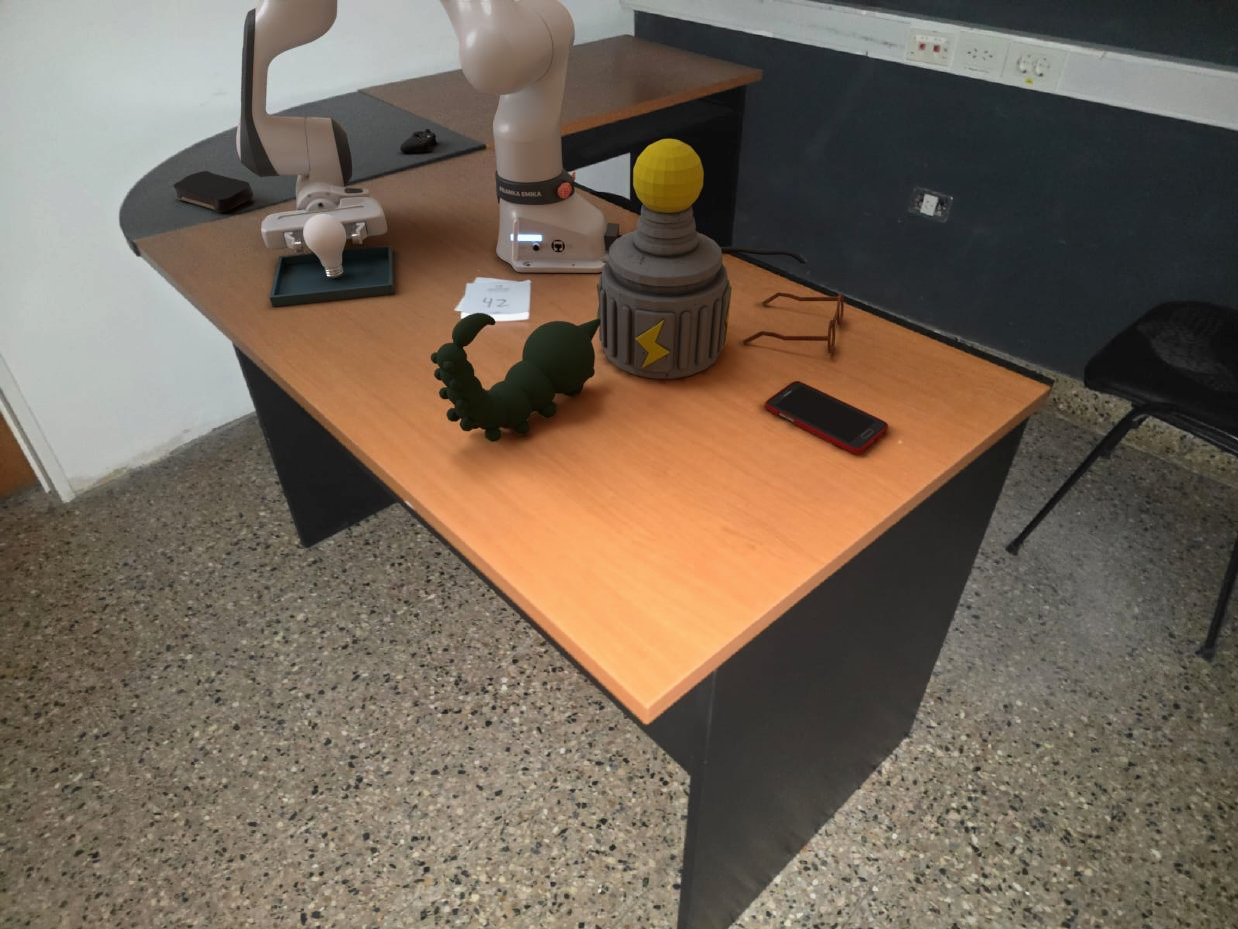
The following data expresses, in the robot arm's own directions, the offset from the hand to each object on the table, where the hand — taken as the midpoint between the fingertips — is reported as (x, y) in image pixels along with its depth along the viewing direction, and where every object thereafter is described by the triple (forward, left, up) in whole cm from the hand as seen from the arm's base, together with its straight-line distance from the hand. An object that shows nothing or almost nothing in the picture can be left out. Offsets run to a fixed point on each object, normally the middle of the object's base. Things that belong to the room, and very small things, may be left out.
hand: (327, 244), depth 130 cm
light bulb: (0, 0, -7) cm, 7 cm away
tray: (0, 0, -7) cm, 7 cm away
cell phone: (-82, +23, -7) cm, 85 cm away
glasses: (-77, +1, -7) cm, 77 cm away
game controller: (+12, -64, -7) cm, 66 cm away
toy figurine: (-44, +29, -7) cm, 53 cm away
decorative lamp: (-58, +10, -7) cm, 59 cm away
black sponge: (+40, -26, -7) cm, 49 cm away
